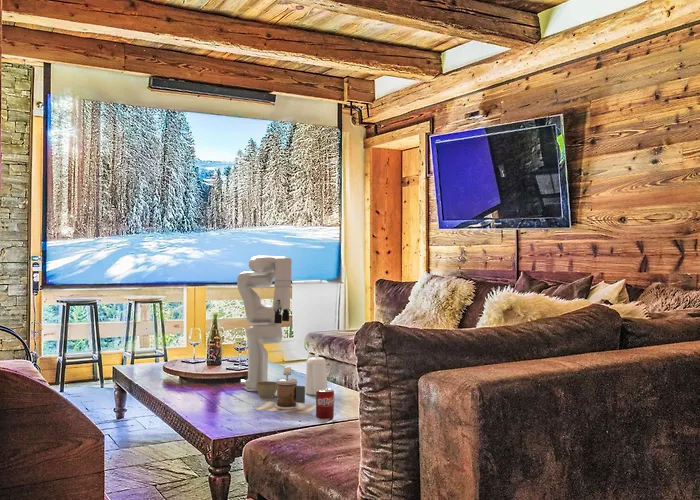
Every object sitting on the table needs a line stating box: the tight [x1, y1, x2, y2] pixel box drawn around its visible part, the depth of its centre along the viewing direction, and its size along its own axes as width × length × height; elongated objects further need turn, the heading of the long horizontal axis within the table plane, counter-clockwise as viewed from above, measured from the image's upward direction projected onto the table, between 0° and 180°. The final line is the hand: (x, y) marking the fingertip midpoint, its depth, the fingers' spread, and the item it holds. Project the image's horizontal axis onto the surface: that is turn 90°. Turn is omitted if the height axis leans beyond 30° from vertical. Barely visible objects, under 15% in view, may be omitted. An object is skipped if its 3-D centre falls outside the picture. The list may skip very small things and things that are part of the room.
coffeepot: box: [304, 353, 328, 396], centre depth 318 cm, size 11×25×19 cm, turn 168°
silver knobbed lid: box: [276, 366, 298, 384], centre depth 284 cm, size 9×9×6 cm
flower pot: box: [256, 380, 277, 399], centre depth 305 cm, size 10×10×7 cm
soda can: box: [315, 387, 335, 422], centre depth 269 cm, size 7×7×12 cm
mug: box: [275, 381, 306, 410], centre depth 283 cm, size 13×10×11 cm
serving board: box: [253, 400, 316, 415], centre depth 284 cm, size 24×16×1 cm, turn 76°
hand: (281, 322), depth 299 cm, fingers open, 9 cm apart
